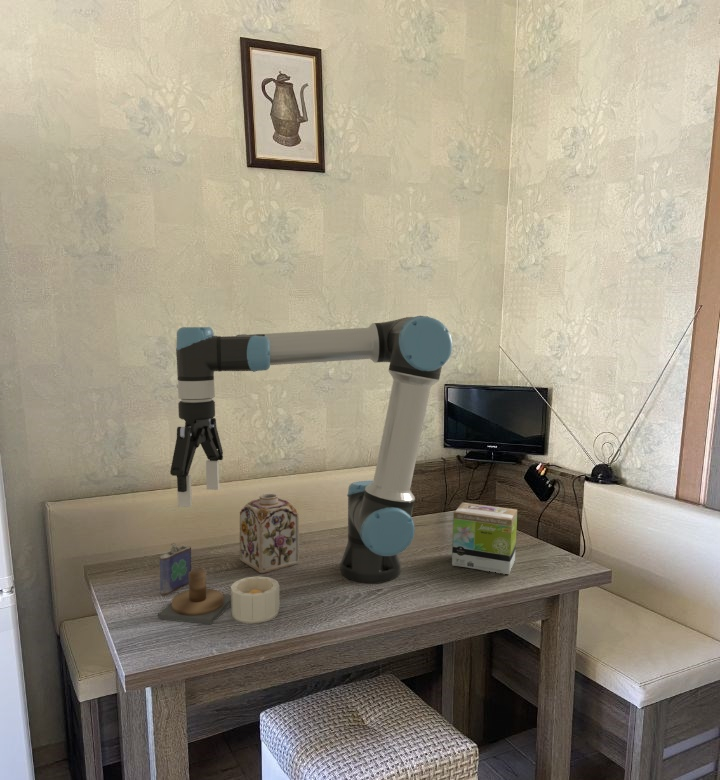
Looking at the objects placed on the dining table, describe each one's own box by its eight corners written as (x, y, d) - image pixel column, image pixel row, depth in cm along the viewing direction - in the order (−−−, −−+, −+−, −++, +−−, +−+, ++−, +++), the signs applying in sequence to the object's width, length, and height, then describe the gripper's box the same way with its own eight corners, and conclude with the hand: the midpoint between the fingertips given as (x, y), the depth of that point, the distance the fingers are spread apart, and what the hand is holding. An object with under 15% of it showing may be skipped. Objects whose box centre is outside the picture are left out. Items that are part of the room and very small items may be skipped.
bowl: (284, 604, 139) (284, 578, 138) (269, 625, 129) (269, 597, 129) (242, 600, 141) (242, 574, 140) (224, 620, 131) (223, 593, 131)
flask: (165, 596, 143) (164, 551, 142) (156, 593, 144) (155, 548, 143) (194, 582, 151) (193, 539, 150) (185, 580, 152) (184, 537, 151)
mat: (234, 599, 142) (234, 595, 141) (211, 624, 130) (211, 619, 130) (185, 594, 144) (185, 590, 144) (158, 618, 132) (158, 613, 132)
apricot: (267, 605, 137) (267, 587, 136) (260, 613, 133) (260, 595, 132) (250, 603, 137) (249, 585, 137) (243, 611, 134) (242, 593, 133)
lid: (231, 595, 141) (231, 565, 140) (210, 617, 131) (209, 584, 130) (186, 591, 143) (186, 560, 143) (162, 612, 133) (161, 579, 132)
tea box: (451, 567, 162) (452, 511, 160) (459, 554, 171) (461, 501, 169) (510, 576, 156) (512, 518, 154) (516, 562, 165) (517, 507, 164)
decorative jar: (260, 575, 156) (259, 504, 154) (238, 561, 165) (237, 494, 163) (300, 564, 163) (300, 496, 161) (277, 551, 172) (277, 487, 170)
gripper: (205, 393, 146) (208, 482, 148) (149, 407, 122) (153, 513, 124) (236, 393, 144) (238, 483, 147) (185, 407, 120) (189, 515, 122)
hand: (199, 497), depth 135 cm, fingers open, 13 cm apart
